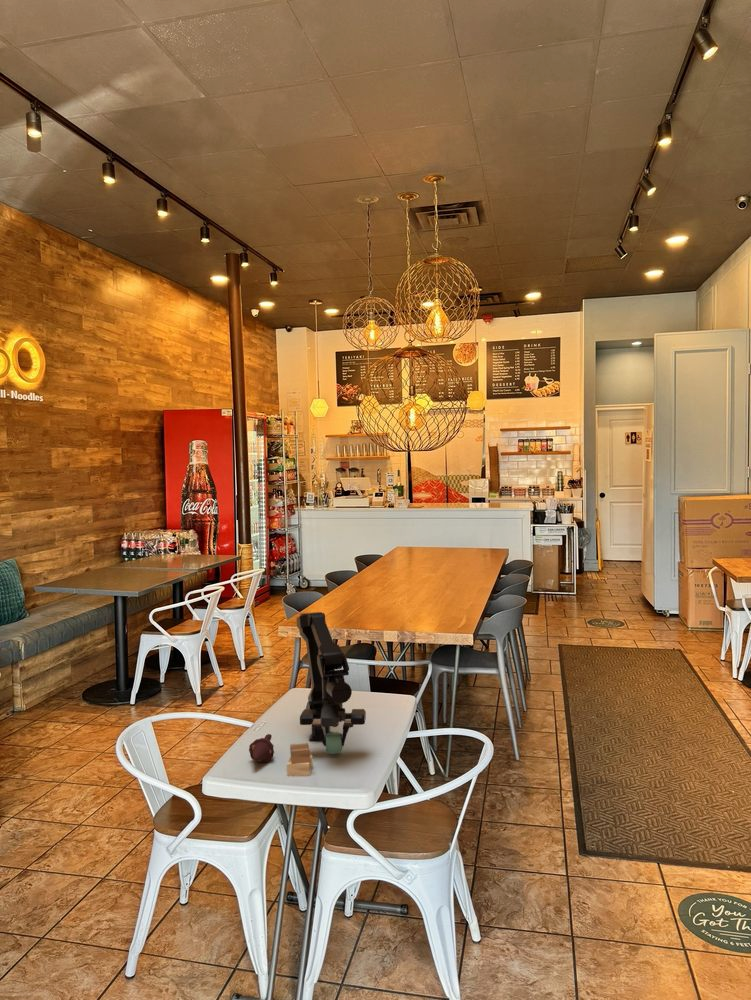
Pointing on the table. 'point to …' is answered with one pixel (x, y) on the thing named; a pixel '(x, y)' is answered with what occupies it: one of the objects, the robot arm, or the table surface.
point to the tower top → (300, 753)
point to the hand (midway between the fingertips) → (334, 745)
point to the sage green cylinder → (333, 742)
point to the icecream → (262, 749)
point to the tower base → (299, 768)
